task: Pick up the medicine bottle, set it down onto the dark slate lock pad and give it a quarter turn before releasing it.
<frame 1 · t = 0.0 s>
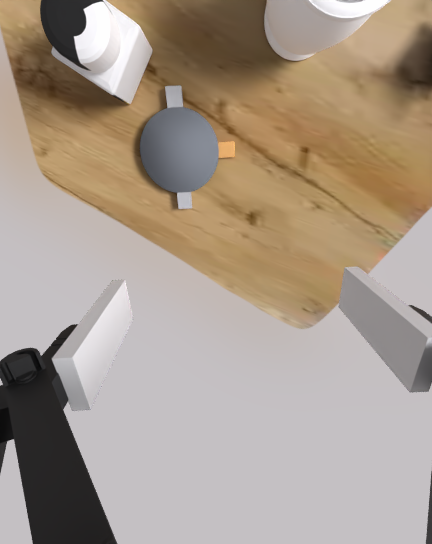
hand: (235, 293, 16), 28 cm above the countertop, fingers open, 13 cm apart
lock pad: (180, 152, 38), on the countertop
medicine bottle: (116, 61, 34), on the countertop
jar: (297, 20, 33), on the countertop
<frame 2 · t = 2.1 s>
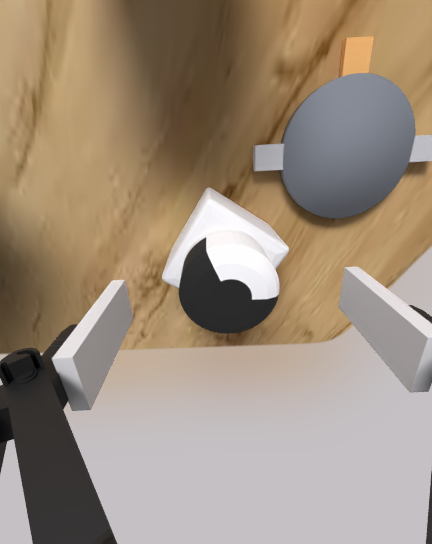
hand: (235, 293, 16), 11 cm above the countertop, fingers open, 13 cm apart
lock pad: (341, 153, 23), on the countertop
medicine bottle: (220, 236, 26), on the countertop
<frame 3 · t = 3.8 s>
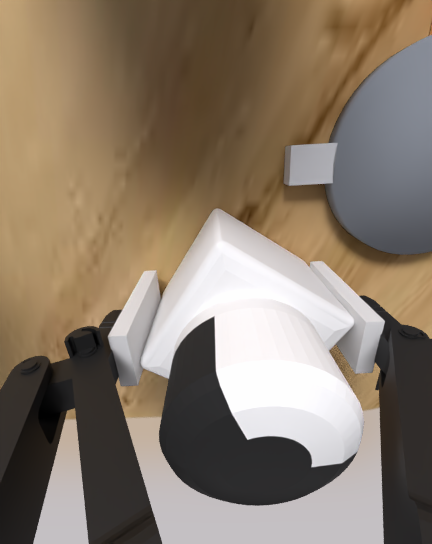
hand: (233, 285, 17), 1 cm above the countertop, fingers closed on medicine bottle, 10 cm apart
lock pad: (420, 157, 15), on the countertop
medicine bottle: (232, 276, 18), on the countertop, touching gripper
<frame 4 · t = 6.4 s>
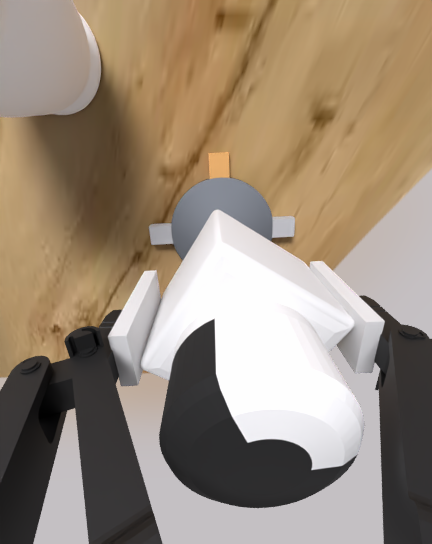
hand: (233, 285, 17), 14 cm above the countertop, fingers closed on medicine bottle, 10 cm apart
lock pad: (221, 228, 30), on the countertop
medicine bottle: (232, 277, 18), point 13 cm above the countertop, touching gripper
jar: (55, 60, 23), on the countertop
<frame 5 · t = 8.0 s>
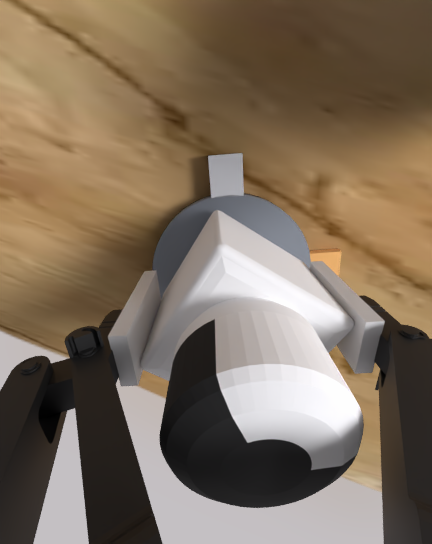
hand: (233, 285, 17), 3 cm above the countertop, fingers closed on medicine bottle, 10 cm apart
lock pad: (230, 269, 20), on the countertop
medicine bottle: (232, 277, 18), point 1 cm above the countertop, touching gripper
when the fingers open (3 cm above the countertop, at t = 9.1 s): medicine bottle stays where it is, resting on lock pad.
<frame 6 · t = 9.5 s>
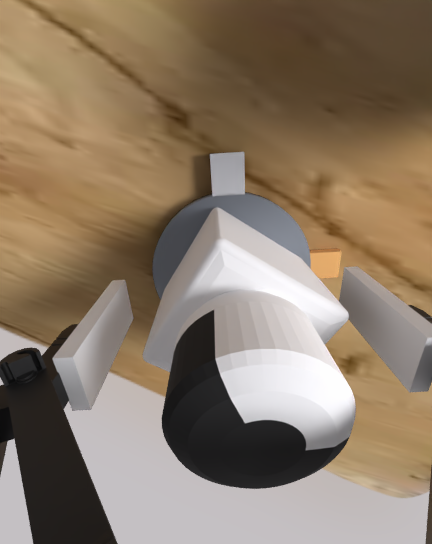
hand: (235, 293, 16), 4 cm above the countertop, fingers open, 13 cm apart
lock pad: (230, 268, 20), on the countertop
medicine bottle: (231, 274, 19), point 1 cm above the countertop, touching lock pad
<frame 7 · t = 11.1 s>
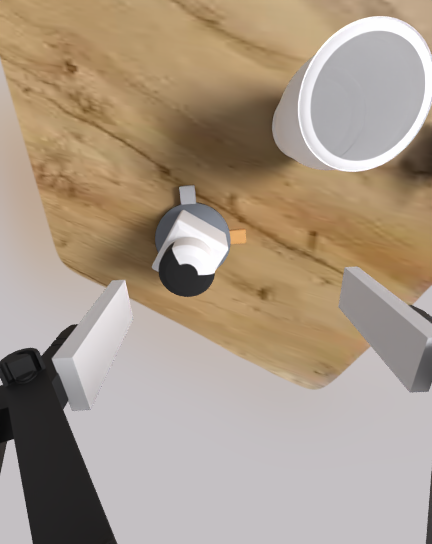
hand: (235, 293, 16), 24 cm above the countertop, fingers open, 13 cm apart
lock pad: (193, 239, 40), on the countertop
medicine bottle: (193, 241, 39), point 1 cm above the countertop, touching lock pad
jar: (303, 124, 35), on the countertop
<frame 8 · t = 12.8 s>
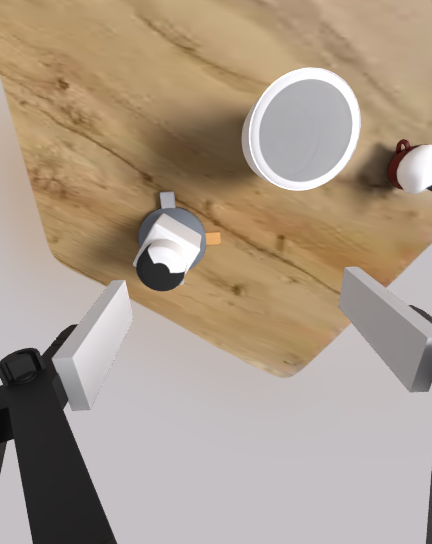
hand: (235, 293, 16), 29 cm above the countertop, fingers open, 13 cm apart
lock pad: (173, 239, 44), on the countertop
medicine bottle: (172, 241, 44), point 1 cm above the countertop, touching lock pad
jar: (271, 141, 39), on the countertop
cocoa: (400, 169, 41), on the countertop
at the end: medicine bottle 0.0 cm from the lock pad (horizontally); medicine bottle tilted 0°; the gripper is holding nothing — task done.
